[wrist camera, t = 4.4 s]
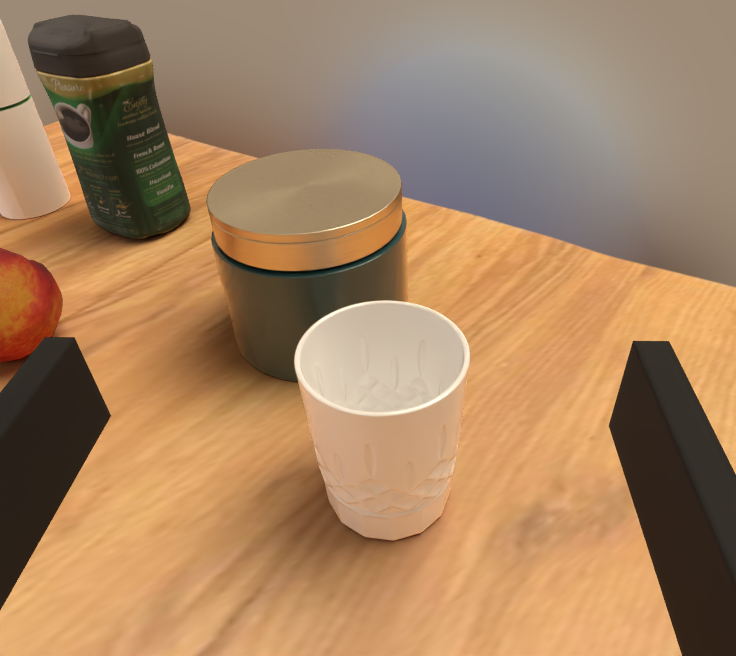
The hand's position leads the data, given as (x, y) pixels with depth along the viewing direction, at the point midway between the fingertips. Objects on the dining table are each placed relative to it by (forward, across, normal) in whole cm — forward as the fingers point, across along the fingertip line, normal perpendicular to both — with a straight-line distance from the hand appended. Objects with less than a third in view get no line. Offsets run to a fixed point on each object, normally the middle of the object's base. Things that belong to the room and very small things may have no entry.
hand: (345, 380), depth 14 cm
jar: (+24, -6, -17) cm, 31 cm away
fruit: (+22, -28, -18) cm, 40 cm away
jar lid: (+24, -6, -7) cm, 26 cm away
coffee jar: (+41, -26, -17) cm, 52 cm away
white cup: (+10, 0, -18) cm, 20 cm away
